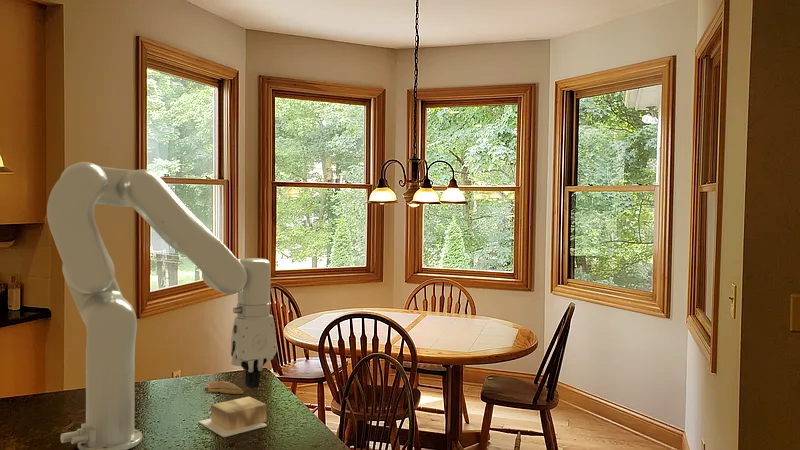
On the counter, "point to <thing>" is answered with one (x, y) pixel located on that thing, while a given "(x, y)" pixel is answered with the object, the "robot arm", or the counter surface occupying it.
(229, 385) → the shard
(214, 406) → the wood block
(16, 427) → the counter surface
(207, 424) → the plastic mat
